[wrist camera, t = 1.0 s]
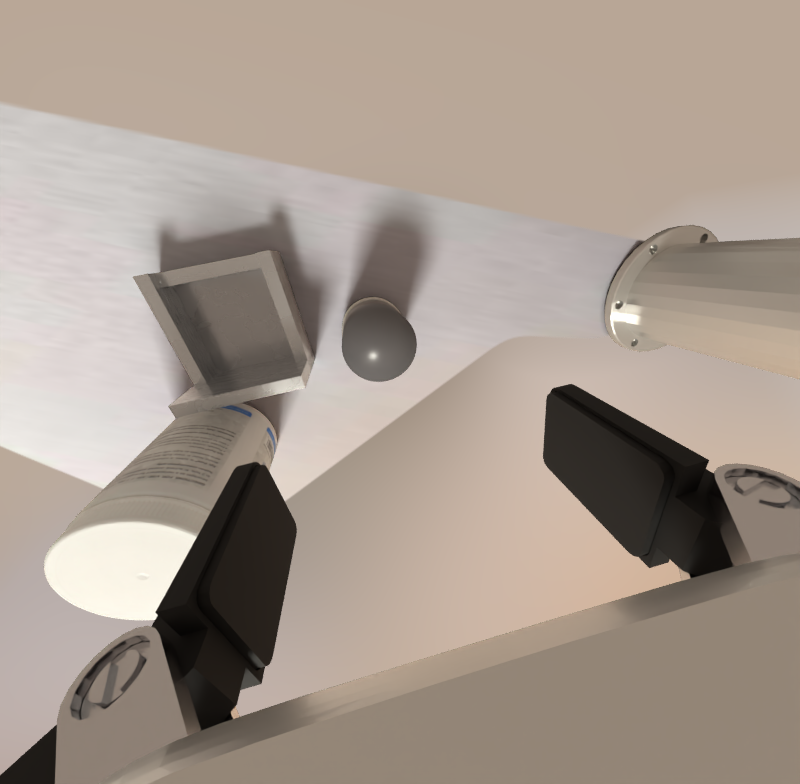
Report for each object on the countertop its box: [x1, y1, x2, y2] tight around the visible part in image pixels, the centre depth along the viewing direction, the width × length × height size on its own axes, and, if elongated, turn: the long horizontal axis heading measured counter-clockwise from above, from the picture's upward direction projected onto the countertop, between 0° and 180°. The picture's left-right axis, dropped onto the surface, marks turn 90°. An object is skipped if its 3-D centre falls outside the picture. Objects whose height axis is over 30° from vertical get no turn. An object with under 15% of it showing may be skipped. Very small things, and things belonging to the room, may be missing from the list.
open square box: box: [133, 250, 315, 418], centre depth 22 cm, size 10×10×7 cm
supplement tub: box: [44, 403, 277, 620], centre depth 23 cm, size 10×10×15 cm
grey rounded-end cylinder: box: [342, 297, 417, 382], centre depth 24 cm, size 6×6×7 cm
